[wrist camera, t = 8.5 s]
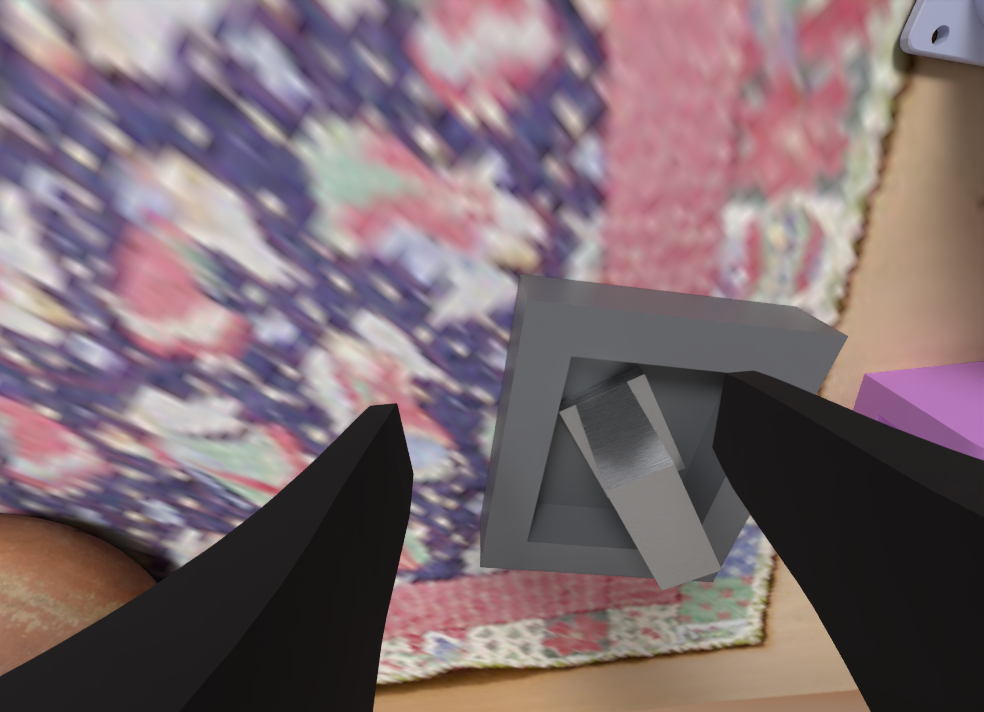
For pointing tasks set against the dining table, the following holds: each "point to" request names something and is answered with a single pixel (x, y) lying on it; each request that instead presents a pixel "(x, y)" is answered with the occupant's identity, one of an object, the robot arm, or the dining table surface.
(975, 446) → the bracket
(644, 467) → the grey block
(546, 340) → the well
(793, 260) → the dining table surface
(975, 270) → the dining table surface
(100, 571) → the ceramic jug
